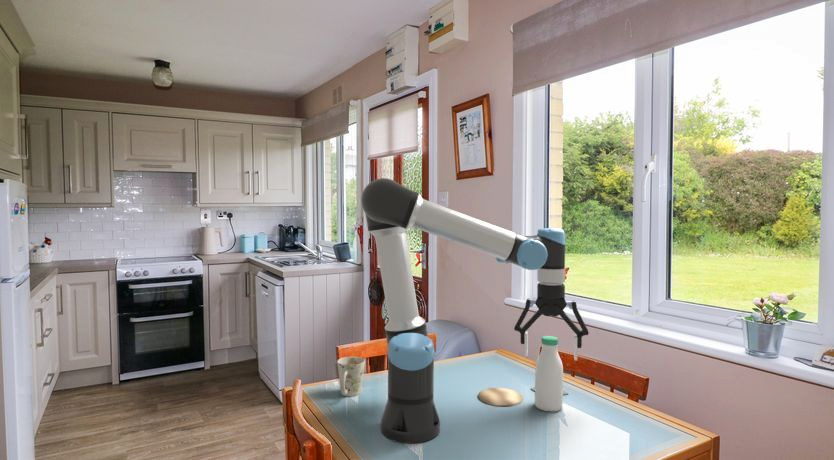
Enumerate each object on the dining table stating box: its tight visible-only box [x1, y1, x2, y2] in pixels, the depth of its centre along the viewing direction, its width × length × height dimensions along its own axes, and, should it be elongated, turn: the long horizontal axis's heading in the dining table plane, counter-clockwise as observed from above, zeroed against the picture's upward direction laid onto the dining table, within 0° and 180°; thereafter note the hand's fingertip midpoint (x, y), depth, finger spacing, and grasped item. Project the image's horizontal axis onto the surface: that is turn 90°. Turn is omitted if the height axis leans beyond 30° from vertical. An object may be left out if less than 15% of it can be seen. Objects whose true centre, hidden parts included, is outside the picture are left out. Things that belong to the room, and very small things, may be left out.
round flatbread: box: [477, 387, 524, 407], centre depth 148 cm, size 13×13×1 cm
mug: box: [336, 356, 366, 398], centre depth 148 cm, size 8×13×10 cm, turn 174°
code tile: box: [530, 387, 569, 396], centre depth 153 cm, size 8×8×1 cm
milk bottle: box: [534, 335, 564, 413], centre depth 141 cm, size 8×8×20 cm
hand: (550, 357), depth 141 cm, fingers open, 13 cm apart
